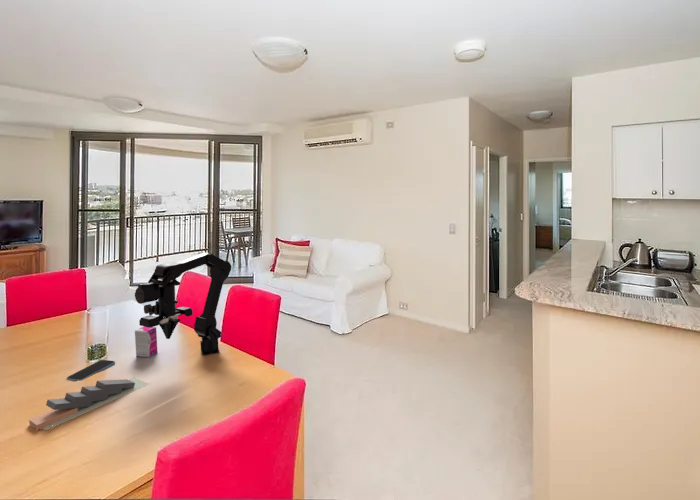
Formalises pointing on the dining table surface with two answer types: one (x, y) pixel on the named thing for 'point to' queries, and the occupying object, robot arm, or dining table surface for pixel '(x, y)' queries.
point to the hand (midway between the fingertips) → (168, 338)
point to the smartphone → (91, 370)
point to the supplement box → (146, 342)
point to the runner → (101, 402)
